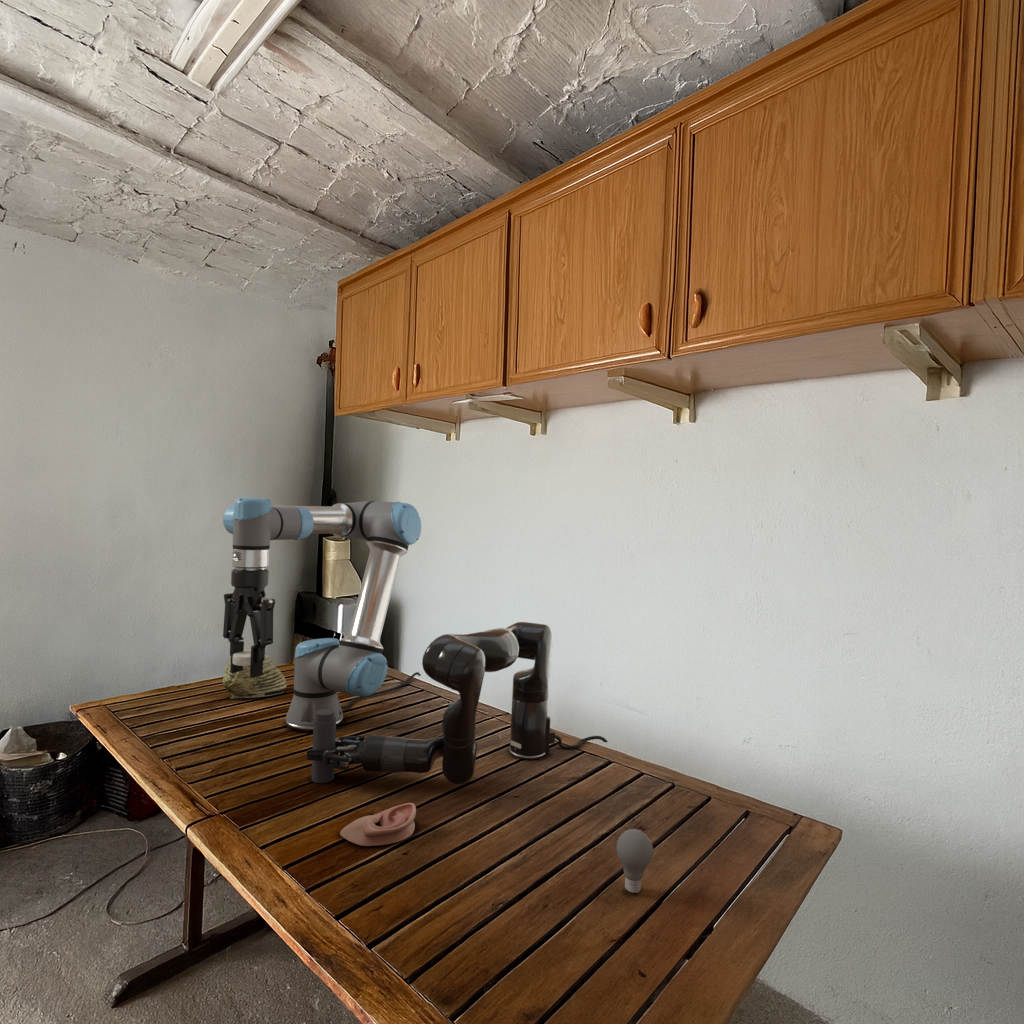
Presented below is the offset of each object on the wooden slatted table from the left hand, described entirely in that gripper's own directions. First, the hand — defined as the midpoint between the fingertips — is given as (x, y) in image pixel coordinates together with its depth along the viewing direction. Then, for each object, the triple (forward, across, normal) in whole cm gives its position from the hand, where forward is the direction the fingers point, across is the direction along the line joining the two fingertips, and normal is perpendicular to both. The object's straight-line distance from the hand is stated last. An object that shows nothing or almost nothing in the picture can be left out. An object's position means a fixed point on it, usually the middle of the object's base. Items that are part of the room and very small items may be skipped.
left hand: (246, 673), depth 139 cm
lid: (-4, 0, 0) cm, 4 cm away
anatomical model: (+24, +38, 0) cm, 45 cm away
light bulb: (+24, +86, +7) cm, 89 cm away
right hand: (+18, +11, +10) cm, 23 cm away
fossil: (+24, -46, +42) cm, 67 cm away
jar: (+24, +13, +11) cm, 29 cm away
